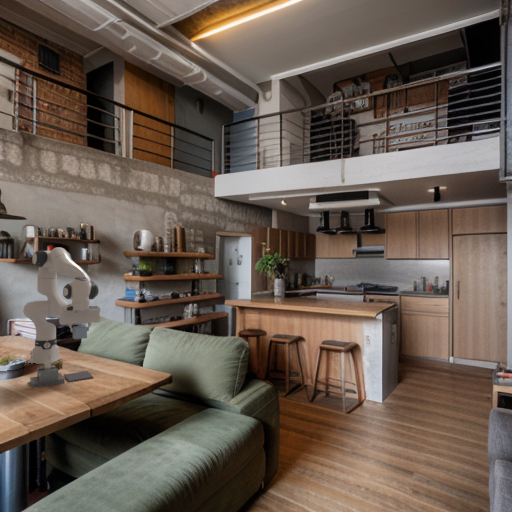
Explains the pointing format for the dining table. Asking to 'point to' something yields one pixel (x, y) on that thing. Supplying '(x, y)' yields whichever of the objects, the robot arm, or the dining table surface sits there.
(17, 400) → the dining table surface
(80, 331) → the blue-grey cube
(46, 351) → the robot arm
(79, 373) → the mat
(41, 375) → the vise
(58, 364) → the gavel
